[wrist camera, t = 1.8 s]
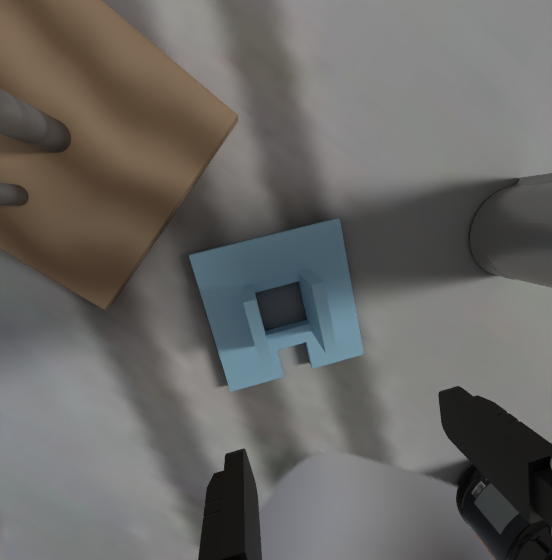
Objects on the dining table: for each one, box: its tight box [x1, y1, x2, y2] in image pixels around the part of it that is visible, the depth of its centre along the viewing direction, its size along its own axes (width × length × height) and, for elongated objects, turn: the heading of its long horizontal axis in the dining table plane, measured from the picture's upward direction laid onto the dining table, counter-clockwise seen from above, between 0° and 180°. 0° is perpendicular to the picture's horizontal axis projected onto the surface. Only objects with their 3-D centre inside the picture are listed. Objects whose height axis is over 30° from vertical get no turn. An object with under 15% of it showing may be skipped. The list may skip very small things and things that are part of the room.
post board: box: [0, 0, 238, 310], centre depth 20 cm, size 20×20×8 cm
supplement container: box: [456, 466, 552, 560], centre depth 32 cm, size 10×10×12 cm
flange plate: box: [189, 218, 364, 392], centre depth 26 cm, size 14×14×6 cm
